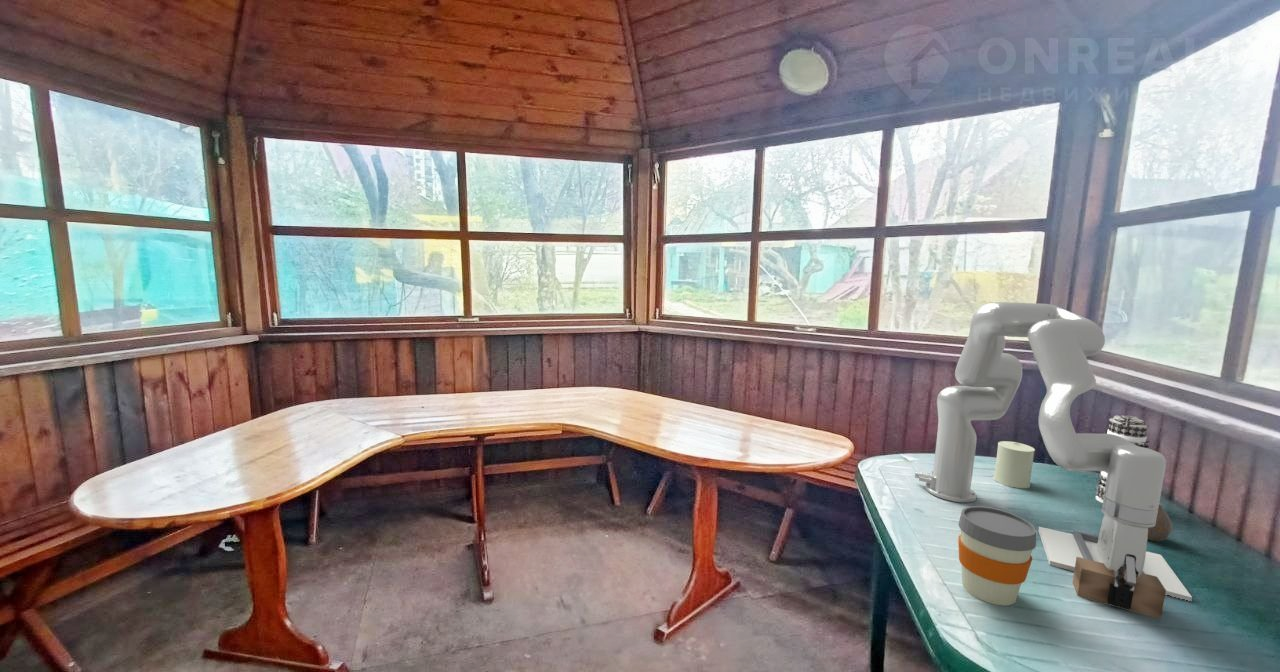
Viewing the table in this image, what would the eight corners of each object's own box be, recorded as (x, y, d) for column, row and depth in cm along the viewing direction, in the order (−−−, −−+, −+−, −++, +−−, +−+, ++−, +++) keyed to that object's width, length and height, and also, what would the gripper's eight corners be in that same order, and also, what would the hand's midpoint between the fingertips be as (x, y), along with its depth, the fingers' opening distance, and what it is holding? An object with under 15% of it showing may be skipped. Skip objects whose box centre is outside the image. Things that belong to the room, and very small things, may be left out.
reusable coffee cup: (956, 564, 110) (964, 499, 108) (1028, 589, 102) (1038, 519, 100) (946, 592, 100) (955, 521, 98) (1025, 621, 93) (1037, 545, 91)
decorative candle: (1147, 511, 139) (1163, 423, 135) (1113, 509, 139) (1128, 421, 135) (1117, 496, 148) (1131, 413, 144) (1085, 495, 148) (1098, 412, 144)
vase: (1177, 546, 120) (1183, 512, 119) (1143, 542, 122) (1149, 508, 121) (1154, 532, 127) (1160, 499, 126) (1122, 528, 128) (1128, 495, 127)
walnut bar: (1077, 596, 101) (1081, 568, 100) (1072, 583, 105) (1076, 556, 104) (1160, 619, 94) (1166, 590, 94) (1151, 605, 99) (1157, 576, 98)
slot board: (1049, 564, 111) (1051, 554, 111) (1038, 530, 126) (1039, 520, 126) (1191, 601, 100) (1193, 590, 99) (1160, 558, 115) (1161, 548, 114)
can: (1028, 480, 157) (1033, 443, 155) (1031, 491, 149) (1037, 452, 148) (992, 473, 162) (997, 437, 160) (994, 483, 154) (999, 445, 153)
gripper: (1093, 489, 106) (1080, 569, 109) (1114, 523, 92) (1099, 614, 94) (1141, 499, 102) (1127, 581, 105) (1172, 535, 88) (1154, 630, 90)
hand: (1114, 596), depth 100 cm, fingers open, 5 cm apart
